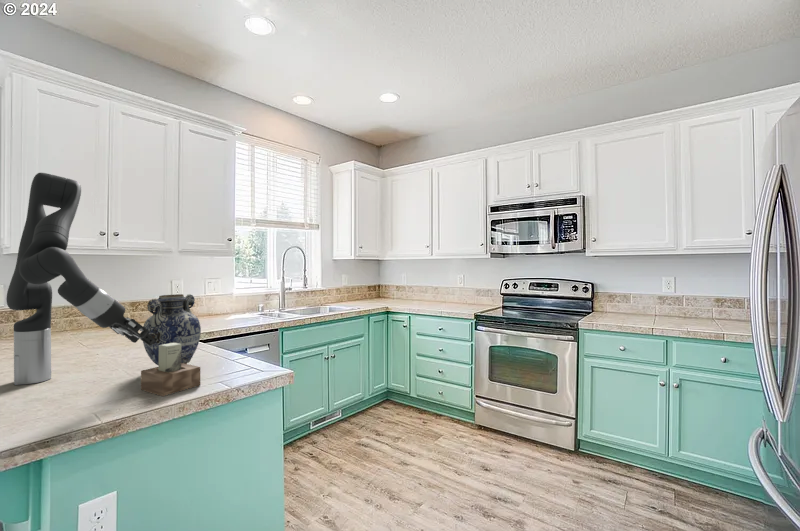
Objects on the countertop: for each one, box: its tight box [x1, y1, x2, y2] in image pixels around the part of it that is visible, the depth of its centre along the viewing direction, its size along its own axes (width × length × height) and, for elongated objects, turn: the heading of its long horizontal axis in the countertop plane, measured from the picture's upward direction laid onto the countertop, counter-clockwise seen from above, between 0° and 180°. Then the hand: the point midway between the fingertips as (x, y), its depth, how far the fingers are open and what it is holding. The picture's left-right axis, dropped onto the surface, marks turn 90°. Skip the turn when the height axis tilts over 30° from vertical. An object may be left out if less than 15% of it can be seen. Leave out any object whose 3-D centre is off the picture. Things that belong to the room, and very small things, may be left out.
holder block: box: [140, 363, 201, 397], centre depth 126 cm, size 12×12×6 cm
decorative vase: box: [142, 293, 202, 367], centre depth 145 cm, size 21×19×28 cm
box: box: [158, 343, 181, 373], centre depth 126 cm, size 5×4×13 cm
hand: (144, 341), depth 119 cm, fingers open, 8 cm apart
